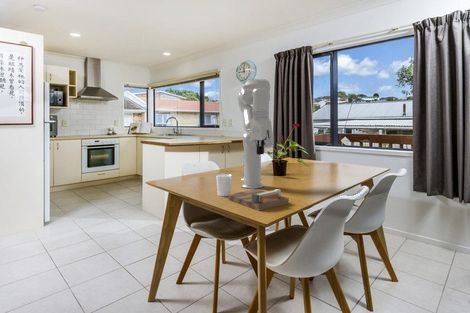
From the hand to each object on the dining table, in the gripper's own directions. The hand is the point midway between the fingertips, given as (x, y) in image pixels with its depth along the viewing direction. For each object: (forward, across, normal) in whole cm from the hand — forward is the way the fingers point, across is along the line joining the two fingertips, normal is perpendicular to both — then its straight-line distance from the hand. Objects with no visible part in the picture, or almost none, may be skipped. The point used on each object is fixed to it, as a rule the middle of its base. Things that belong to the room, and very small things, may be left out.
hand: (260, 154), depth 136 cm
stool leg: (+18, +12, -5) cm, 22 cm away
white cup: (+22, -15, -11) cm, 29 cm away
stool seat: (+21, +4, -5) cm, 22 cm away
